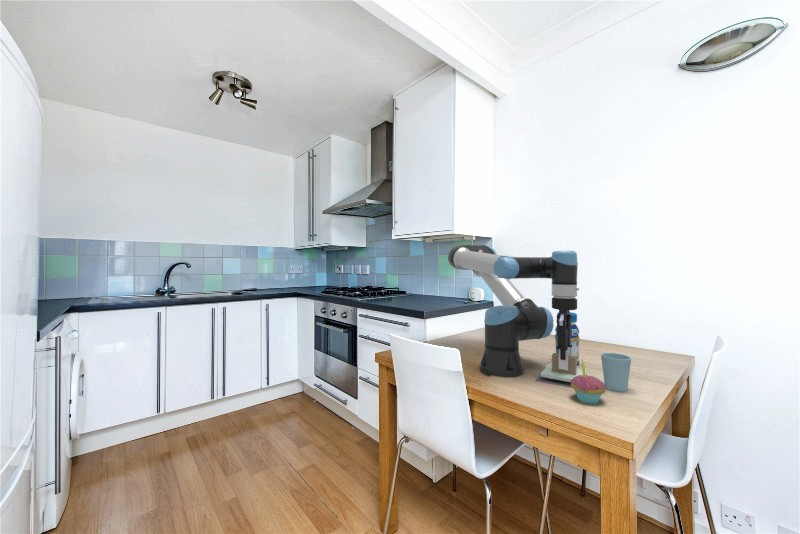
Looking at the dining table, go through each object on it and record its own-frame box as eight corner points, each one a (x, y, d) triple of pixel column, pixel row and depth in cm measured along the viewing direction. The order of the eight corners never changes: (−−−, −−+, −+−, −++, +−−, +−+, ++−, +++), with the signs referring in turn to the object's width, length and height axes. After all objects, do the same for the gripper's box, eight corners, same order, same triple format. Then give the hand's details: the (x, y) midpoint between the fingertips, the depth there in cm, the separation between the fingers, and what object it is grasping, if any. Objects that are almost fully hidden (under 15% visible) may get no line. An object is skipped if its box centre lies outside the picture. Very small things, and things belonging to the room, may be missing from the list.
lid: (540, 376, 104) (540, 356, 104) (548, 366, 114) (548, 348, 114) (582, 384, 97) (582, 363, 97) (586, 373, 107) (587, 354, 107)
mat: (535, 382, 104) (535, 380, 104) (545, 370, 116) (545, 368, 116) (588, 393, 95) (588, 391, 95) (593, 378, 107) (593, 376, 107)
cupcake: (591, 410, 83) (591, 364, 83) (563, 398, 91) (563, 356, 91) (612, 404, 87) (612, 360, 87) (583, 393, 94) (583, 353, 94)
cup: (637, 392, 95) (637, 357, 95) (621, 396, 92) (620, 360, 92) (611, 384, 102) (611, 351, 102) (595, 387, 99) (595, 354, 99)
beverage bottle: (552, 361, 127) (552, 311, 127) (575, 362, 125) (575, 311, 125) (558, 367, 119) (558, 314, 119) (583, 369, 117) (583, 314, 117)
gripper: (573, 300, 97) (573, 376, 97) (580, 295, 110) (580, 364, 110) (547, 298, 101) (547, 372, 101) (556, 294, 114) (556, 360, 114)
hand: (564, 367), depth 106 cm, fingers closed on lid, 2 cm apart
